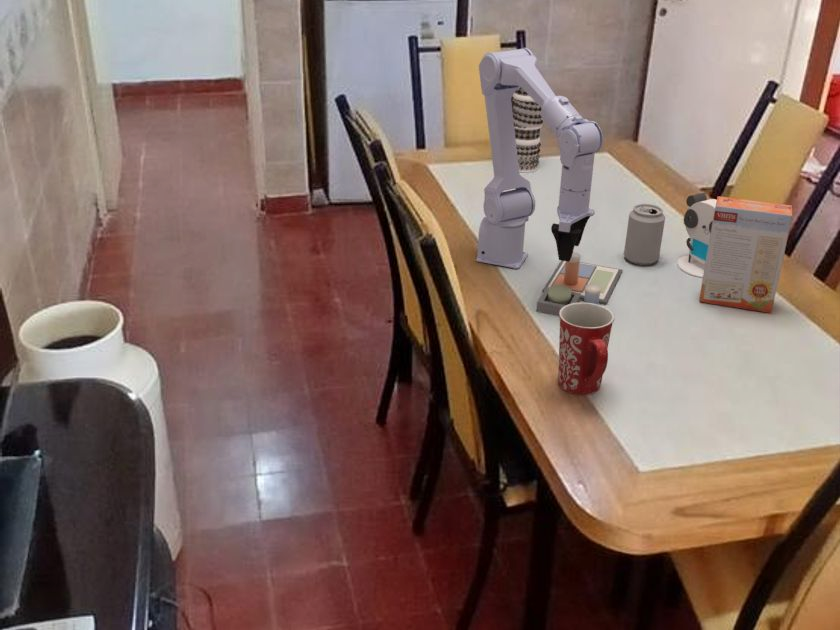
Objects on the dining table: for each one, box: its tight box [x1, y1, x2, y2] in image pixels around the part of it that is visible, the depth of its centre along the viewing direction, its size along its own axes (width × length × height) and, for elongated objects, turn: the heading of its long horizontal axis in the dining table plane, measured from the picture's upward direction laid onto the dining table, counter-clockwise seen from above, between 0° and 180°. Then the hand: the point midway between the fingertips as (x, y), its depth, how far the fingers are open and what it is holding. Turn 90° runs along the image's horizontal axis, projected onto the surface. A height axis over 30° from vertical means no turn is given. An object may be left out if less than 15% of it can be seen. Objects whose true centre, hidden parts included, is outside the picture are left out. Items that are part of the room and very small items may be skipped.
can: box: [623, 203, 666, 266], centre depth 203 cm, size 8×8×12 cm
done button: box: [548, 285, 571, 305], centre depth 185 cm, size 4×4×2 cm
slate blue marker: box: [583, 284, 601, 305], centre depth 182 cm, size 3×3×6 cm
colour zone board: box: [542, 260, 623, 306], centre depth 196 cm, size 13×16×1 cm
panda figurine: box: [676, 192, 717, 279], centre depth 200 cm, size 12×11×15 cm
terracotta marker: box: [564, 251, 582, 285], centre depth 192 cm, size 3×3×6 cm
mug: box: [557, 301, 615, 396], centre depth 157 cm, size 13×9×14 cm
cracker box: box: [698, 196, 793, 314], centre depth 185 cm, size 14×6×21 cm, turn 71°
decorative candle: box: [511, 87, 544, 174], centre depth 249 cm, size 9×9×25 cm
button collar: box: [535, 287, 581, 316], centre depth 186 cm, size 7×7×2 cm
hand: (569, 252), depth 185 cm, fingers open, 7 cm apart
